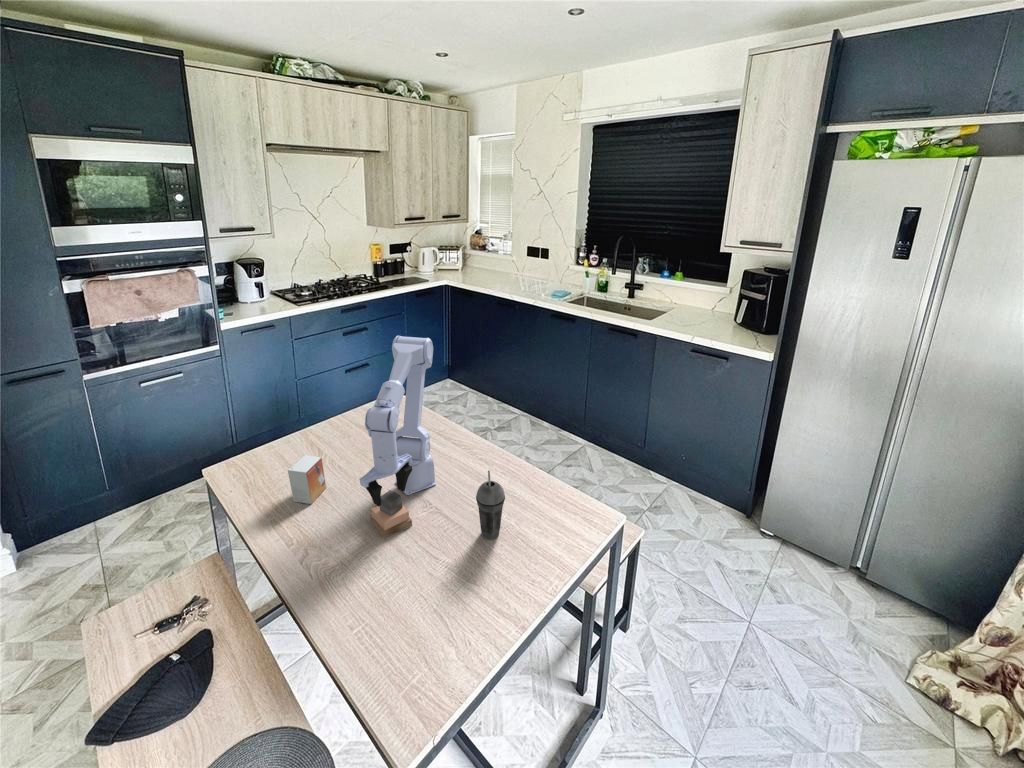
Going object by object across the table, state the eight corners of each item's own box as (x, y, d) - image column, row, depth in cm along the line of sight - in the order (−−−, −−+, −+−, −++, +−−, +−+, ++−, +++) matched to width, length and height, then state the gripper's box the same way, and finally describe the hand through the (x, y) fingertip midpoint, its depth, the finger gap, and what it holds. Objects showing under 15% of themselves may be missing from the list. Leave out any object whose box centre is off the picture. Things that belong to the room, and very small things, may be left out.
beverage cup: (508, 527, 129) (510, 463, 121) (498, 546, 123) (499, 480, 115) (482, 521, 131) (482, 457, 123) (471, 539, 125) (470, 473, 117)
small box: (311, 505, 136) (305, 473, 131) (293, 502, 137) (286, 470, 132) (327, 487, 143) (322, 456, 139) (309, 485, 144) (304, 454, 140)
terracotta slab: (395, 505, 134) (395, 498, 132) (409, 519, 129) (408, 511, 128) (371, 516, 129) (370, 508, 128) (384, 530, 125) (383, 522, 123)
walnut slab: (399, 511, 135) (398, 503, 134) (412, 527, 130) (411, 519, 129) (371, 522, 131) (370, 514, 130) (383, 539, 125) (382, 531, 124)
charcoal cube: (391, 502, 131) (390, 489, 129) (402, 507, 129) (401, 495, 127) (380, 510, 128) (378, 497, 126) (391, 516, 126) (389, 503, 124)
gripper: (398, 434, 128) (401, 478, 134) (349, 458, 118) (356, 504, 124) (416, 444, 124) (419, 488, 130) (368, 469, 114) (373, 516, 120)
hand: (389, 496), depth 127 cm, fingers open, 7 cm apart
